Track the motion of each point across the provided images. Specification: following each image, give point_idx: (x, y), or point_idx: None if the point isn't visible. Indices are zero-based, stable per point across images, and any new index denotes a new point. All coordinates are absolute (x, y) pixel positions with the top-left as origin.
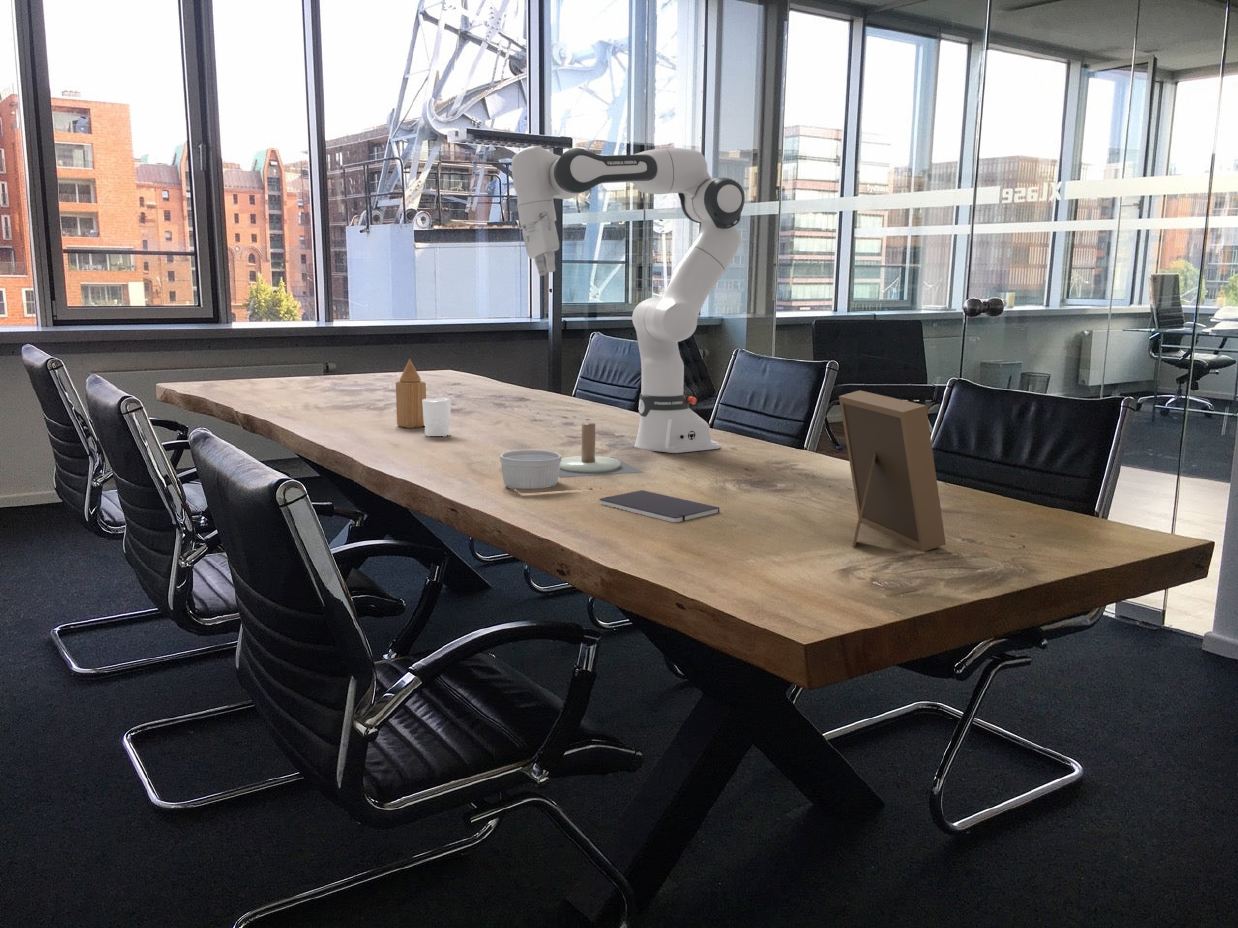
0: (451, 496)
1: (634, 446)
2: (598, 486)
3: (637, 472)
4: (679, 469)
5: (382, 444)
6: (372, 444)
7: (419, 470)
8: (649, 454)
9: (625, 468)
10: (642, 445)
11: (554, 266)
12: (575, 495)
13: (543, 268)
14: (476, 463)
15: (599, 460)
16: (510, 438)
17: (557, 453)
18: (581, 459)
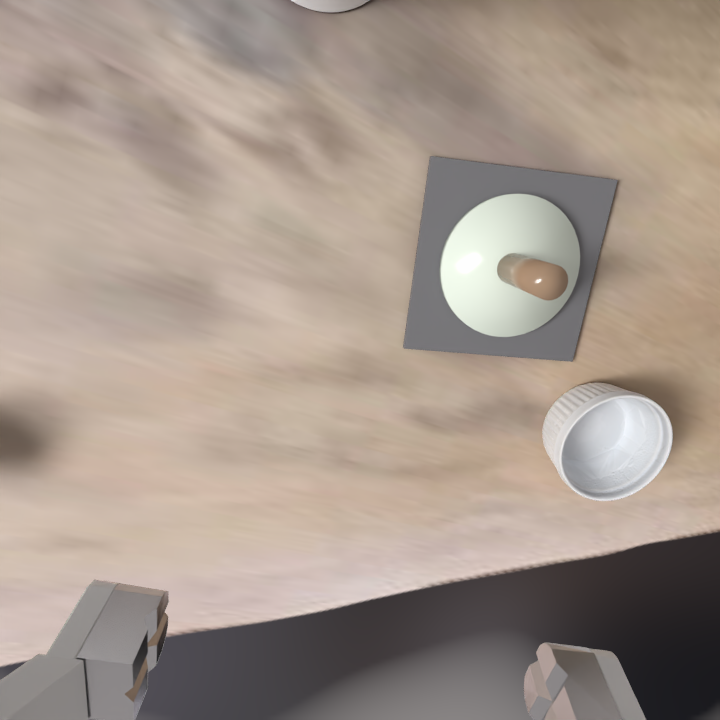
0: (585, 549)
1: (299, 4)
2: (653, 318)
3: (613, 195)
4: (611, 64)
5: (53, 564)
6: (48, 581)
7: (369, 552)
8: (408, 22)
9: (565, 199)
10: (348, 1)
11: (634, 698)
12: (688, 383)
13: (141, 673)
14: (346, 449)
15: (512, 239)
16: (34, 279)
17: (627, 397)
18: (483, 272)
